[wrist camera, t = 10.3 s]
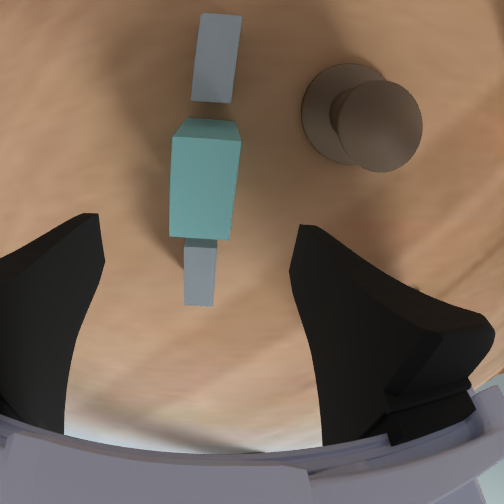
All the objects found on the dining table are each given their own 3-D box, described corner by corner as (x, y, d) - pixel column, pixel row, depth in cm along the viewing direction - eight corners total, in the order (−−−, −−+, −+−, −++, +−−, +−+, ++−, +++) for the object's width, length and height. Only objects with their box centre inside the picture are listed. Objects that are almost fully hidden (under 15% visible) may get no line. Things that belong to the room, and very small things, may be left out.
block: (226, 194, 20) (229, 240, 15) (181, 191, 20) (169, 236, 15) (235, 121, 17) (241, 141, 12) (187, 117, 17) (172, 136, 12)
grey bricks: (213, 275, 24) (213, 306, 21) (187, 274, 23) (184, 304, 20) (238, 26, 14) (242, 15, 11) (204, 24, 14) (201, 12, 11)
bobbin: (383, 170, 20) (416, 195, 16) (293, 155, 19) (311, 178, 15) (404, 80, 16) (444, 87, 13) (310, 52, 15) (335, 47, 11)
